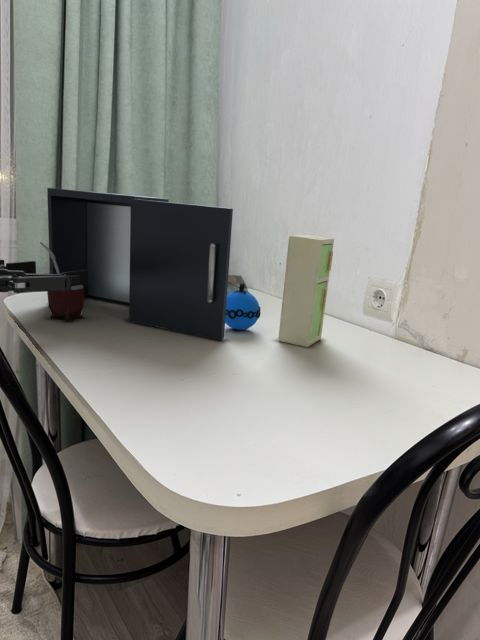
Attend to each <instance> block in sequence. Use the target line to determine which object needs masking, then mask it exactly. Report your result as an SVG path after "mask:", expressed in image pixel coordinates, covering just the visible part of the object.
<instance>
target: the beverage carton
mask: <svg viewBox="0 0 480 640" xmlns="http://www.w3.org/2000/svg"><path fill="white" fill-rule="evenodd" d="M241 283H243V284H244V285H245V288H244V291H247V292H249V290H248V286H247V284H246V282H245V280H244V278H243V277H242V275H239V274H237V275H236V274H235V275H234V274H228V288H227V295H229V294H230V293H232V292H234V291H237V290H239V286H240V284H241Z"/></svg>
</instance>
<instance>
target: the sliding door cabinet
mask: <svg viewBox="0 0 480 640" xmlns="http://www.w3.org/2000/svg"><path fill="white" fill-rule="evenodd" d="M46 191H47V195H46V196H47V225H48V248H49V249H50V250H51V252H52V253H53V254H54V256H55V260H56V263H57V266H58V269H59V272H60V273H61V272H69V271H78V270H88V284H85V285H83V289H84V294H85V297H84V300H87V299H90V300H94V301H100V302H105V303H109V304H114V305H120V306H124V307H128V321H129V322H131V323H136V324H141V325H146V326H151V327H156V328H160V329H165V330H171V331H174V332H179V333H184V334H190V335H194V336H199V337H204V338H209V339H212V340H213V339H214V340H218V341H223V340H224V339H225V331H226V323H225V317H226V302H227V288H228V275H229V274H230V273H229V271H230V257H231V242H232V230H233V229H232V228H233V216H234V215H233V213H234V208H230V207H221V206H211V205H201V204H192V203H191V204H190V203H181V202H171V201H170V198H163V197H155V196H154V197H152V196H145V195H144V196H142V195H131V194H122V193H112V192H103V191H101V192H100V191H91V190H78V189H67V188H66V189H65V188H55V187H53V188H52V187H47V190H46ZM48 258H49V259H48V260H49V262H48V263H49V274H57V272H56V269H55V266H54V263H53V260H52V259H51V257H50V253H49V252H48Z"/></svg>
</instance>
